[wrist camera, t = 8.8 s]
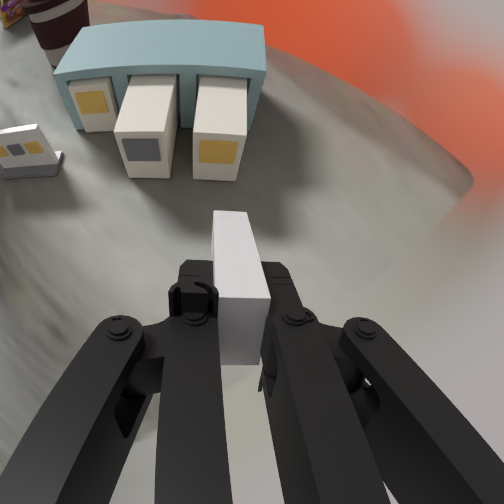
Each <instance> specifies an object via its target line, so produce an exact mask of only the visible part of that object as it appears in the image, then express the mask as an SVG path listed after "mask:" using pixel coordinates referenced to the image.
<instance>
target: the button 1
mask: <svg viewBox="0 0 504 504" xmlns="http://www.w3.org/2000/svg"><path fill="white" fill-rule="evenodd" d="M68 89H69V92H70V94H71V97H72V99H73V102H74V105H75V107H76V110H77V112H78V114H79V117H80V119H81V122H82V124H83V127H84V129H85V131H86V132H102V131H114V129H115V125H116V122H117V119H118V115H119V112H120V110H119V106H118V102H117V98H116V94H115V89H114V85H113V81H112V76H104V77H93V78H84V79H76V80H71V82H70V84H69V86H68Z"/></svg>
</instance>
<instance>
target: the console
mask: <svg viewBox="0 0 504 504" xmlns="http://www.w3.org/2000/svg"><path fill="white" fill-rule="evenodd" d="M266 71H267V69H266V55H265V42H264V29H263V25H256V24H248V23H247V24H246V23H238V22H226V21H211V20H210V21H209V20H147V21H132V22H121V23H111V24H103V25H96V26H89V27H83V28H82V29H81V30H80V32H79V33H78V35H77V36H76V38H75V39H74V41H73V42H72V44H71V45H70V47H69V48H68V50H67V51H66V53H65V55H64V56H63V58H62V60H61V61H60V63H59V65H58V66H57V68H56V70H55V71H54V73H53V77H54V79H55V82H56V84H57V87H58V89H59V91H60V94H61V96H62V99H63V101H64V103H65V106H66V108H67V110H68V113H69V115H70V117H71V120H72V122H73V124H74V126H75V128H76V130H83V129H84V127H83V124H82V122H81V119H80V117H79V114H78V112H77V110H76V107H75V105H74V102H73V99H72V97H71V94H70V92H69V89H68V86H69V84H70V82H71V80H76V79H84V78H93V77H104V76H112V81H113V85H114V89H115V94H116V98H117V102H118V106H119V110H120V109H121V106H122V103H123V100H124V97H125V94H126V91H127V88H128V85H129V83H130V80H131V77H132V75H134V74H180V119H181V128H194V120H195V113H196V105H197V98H198V91H199V85H200V78H201V75H219V76H233V77H244V78H247V131H249V132H250V130H251V126H252V123H253V119H254V115H255V111H256V108H257V104H258V100H259V97H260V93H261V89H262V86H263V82H264V78H265V75H266Z"/></svg>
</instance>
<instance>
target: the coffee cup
mask: <svg viewBox="0 0 504 504" xmlns="http://www.w3.org/2000/svg"><path fill="white" fill-rule="evenodd" d="M21 7H22V10H23V13H24V14H26V15H29V17H30V24H31V26H32V28H33V30H34V33H35V35H36V37H37V39H38V42H39V44H40V46H41V48H42V49H44V51H45V54H46V56H47V58H48V60H49V62H50V64H51V65H53V66H58V65H59V63H60V61H61V60H62V58H63V56H64V55H65V53H66V51H67V50H68V48H69V47H70V45H71V44H72V42H73V41H74V39H75V38H76V36H77V35H78V33H79V32H80V30H81V29H82V28H83V27H89V26H90V23H89V14H88V3H87V0H23V2H22V4H21Z"/></svg>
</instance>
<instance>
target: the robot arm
mask: <svg viewBox="0 0 504 504" xmlns="http://www.w3.org/2000/svg"><path fill="white" fill-rule="evenodd" d="M168 296H169V313H170V316H169V317H168V318H167V319H165V320H164V321H162V322H160V323H157V324H153V325H147V326H142V325H141V323H140V322H138V321H137V320H136V319H134V318H132V317H130V316H123V315H118V316H112V317H109V318H107V319H105V320H103V321H102V322H101V323H100V324H99V325H98V326H97V327H96V328H95V330H94V331H93V333H92V334H91V335H90V337H89V338H88V339H87V341H86V342H85V343H84V345H83V346H82V348H81V349H80V350H79V352H78V353H77V355H76V356H75V357H74V359H73V360H72V362H71V363H70V365H69V366H68V367H67V369H66V370H65V372H64V373H63V375H62V376H61V378H60V379H59V381H58V382H57V384H56V385H55V387H54V388H53V390H52V391H51V393H50V394H49V396H48V397H47V399H46V400H45V402H44V403H43V405H42V406H41V408H40V410H39V411H38V413H37V414H36V416H35V418H34V419H33V421H32V422H31V424H30V426H29V427H28V429H27V431H26V432H25V434H24V436H23V437H22V439H21V441H20V442H19V444H18V446H17V447H16V449H15V451H14V453H13V454H12V456H11V458H10V460H9V462H8V463H7V465H6V467H5V469H4V471H3V473H2V474H1V476H0V504H109V502H110V499H111V496H112V494H113V491H114V489H115V486H116V484H117V481H118V479H119V476H120V474H121V471H122V468H123V466H124V464H125V461H126V459H127V456H128V454H129V451H130V449H131V447H132V444H133V442H134V439H135V437H136V434H137V432H138V430H139V427H140V425H141V422H142V420H143V418H144V415H145V413H146V411H147V408H148V406H149V404H150V401H151V399H152V396H153V394H154V393H159V392H161V395H160V406H159V418H158V432H157V448H156V469H155V503H154V504H233V502H232V493H231V483H230V473H229V463H228V453H227V442H226V431H225V419H224V407H223V394H222V380H221V366H220V365H259V361H260V356H261V358H262V363H263V367H262V372H261V377H260V381H259V387H258V392H259V391H260V392H261V391H262V387H263V391H264V396H265V402H266V408H267V413H268V418H269V424H270V430H271V435H272V440H273V446H274V450H275V456H276V461H277V467H278V472H279V477H280V482H281V487H282V492H283V498H284V503H285V504H391V503H390V500H389V497H388V494H387V492H386V489H385V486H384V483H385V484H386V486H387V487H388V489H389V490H390V492H391V493H392V495H393V496H394V497H395V499H396V500H397V502H398V503H399V504H504V463H503V462H502V460H501V459H500V458H499V457H498V456H497V454H496V453H495V452H494V451H493V450H492V448H491V447H490V446H489V445H488V444H487V442H486V441H485V440H484V439H483V438H482V436H481V435H480V434H479V433H478V432H477V431H476V430H475V429H474V427H473V426H472V425H471V424H470V423H469V421H468V420H467V419H466V418H465V417H464V416H463V415H462V414H461V412H460V411H459V410H458V409H457V408H456V407H455V406H454V405H453V404H452V402H451V401H450V400H449V399H448V398H447V397H446V396H445V394H444V393H443V392H442V391H441V390H440V389H439V388H438V387H437V386H436V384H435V383H434V382H433V381H432V380H431V379H430V378H429V377H428V376H427V375H426V374H425V373H424V371H423V370H422V369H421V368H420V367H419V366H418V365H417V364H416V363H415V362H414V361H413V359H412V358H411V357H410V356H409V355H408V354H407V353H406V352H405V351H404V350H403V349H402V348H401V347H400V346H399V345H398V344H397V343H396V341H394V339H392V337H391V336H390V335H389V334H388V333H387V332H386V331H385V330H384V329H383V328H382V327H381V326H380V325H378V324H377V323H376V322H374V321H372V320H370V319H367V318H362V317H355V318H352V319H349V320H347V321H346V323H345V324H344V327H343V328H339V327H334V326H329V325H325V324H322V323H319V321H318V319H317V317H316V316H315V314H314V313H313V312H312V311H310V310H309V309H307V308H305V307H303V305H302V303H301V300H300V298H299V295H298V293H297V291H296V288H295V286H294V283H293V281H292V279H291V276H290V273H289V271H288V269H287V268H286V267H285V266H283V265H282V264H281V263H280V262H261V261H260V258H259V254H258V251H257V247H256V244H255V240H254V237H253V233H252V230H251V226H250V223H249V219H248V216H247V212H236V211H217V210H214V212H213V228H212V245H211V261H208V260H186V261H185V262H184V263H183V264H182V265H181V266H180V270H179V276H178V282H177V283H175V284H174V285H172V286H171V288H170V290H169V291H168ZM365 378H366V379H367V380H368V381H369V382H370V384H371V385H369V384H367V383H366V381H365ZM382 480H383V481H382ZM383 482H384V483H383Z"/></svg>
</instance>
